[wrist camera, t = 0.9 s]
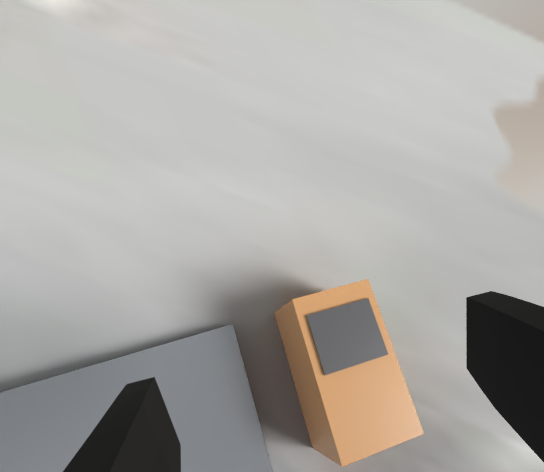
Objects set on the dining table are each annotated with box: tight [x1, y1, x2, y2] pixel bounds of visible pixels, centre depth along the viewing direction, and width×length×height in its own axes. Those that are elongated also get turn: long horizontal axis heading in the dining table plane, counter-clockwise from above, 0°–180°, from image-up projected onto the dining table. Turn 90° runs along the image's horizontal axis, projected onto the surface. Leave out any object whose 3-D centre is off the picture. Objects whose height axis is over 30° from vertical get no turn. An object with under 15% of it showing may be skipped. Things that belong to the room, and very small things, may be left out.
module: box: [275, 279, 424, 467], centre depth 22 cm, size 8×4×5 cm, turn 17°
